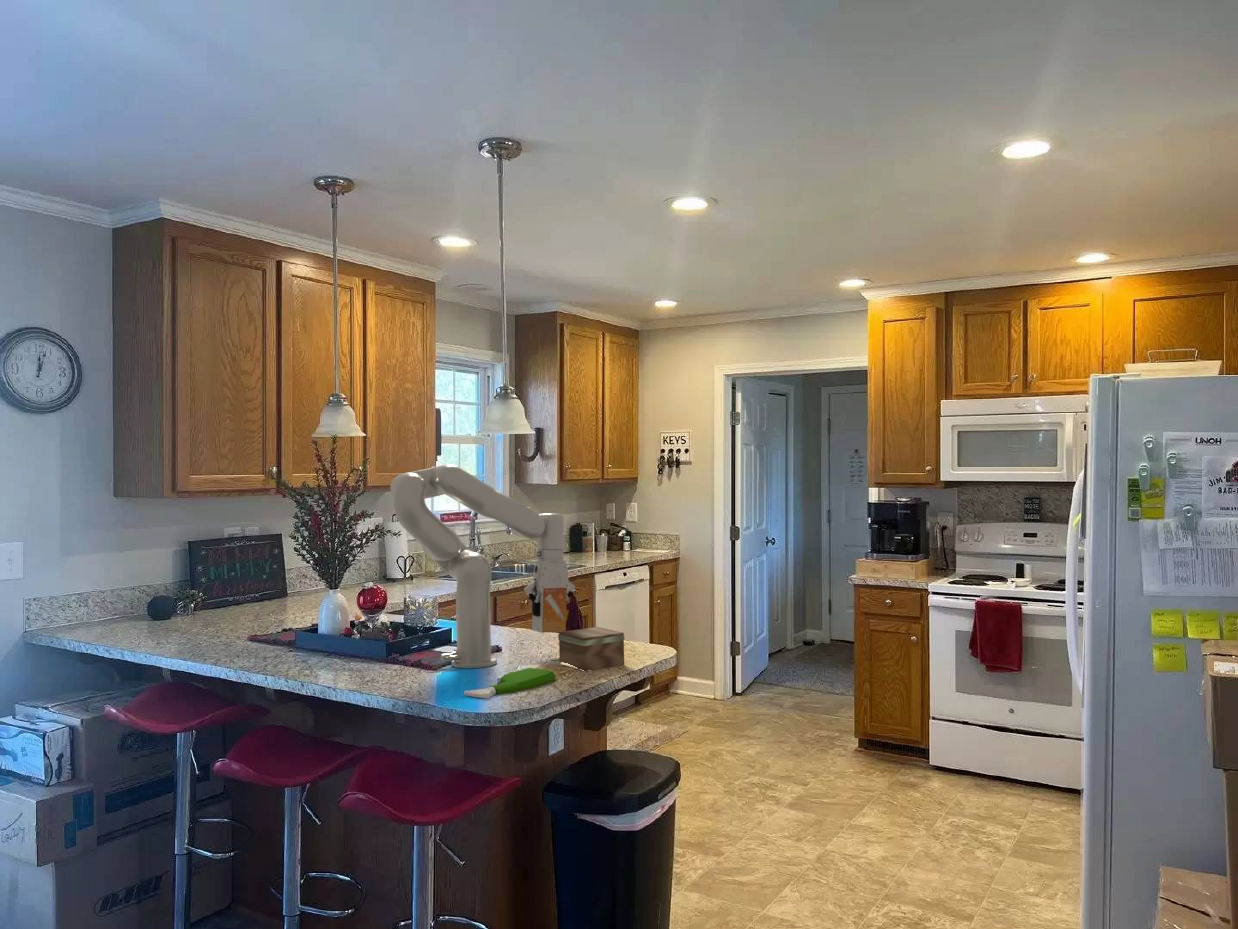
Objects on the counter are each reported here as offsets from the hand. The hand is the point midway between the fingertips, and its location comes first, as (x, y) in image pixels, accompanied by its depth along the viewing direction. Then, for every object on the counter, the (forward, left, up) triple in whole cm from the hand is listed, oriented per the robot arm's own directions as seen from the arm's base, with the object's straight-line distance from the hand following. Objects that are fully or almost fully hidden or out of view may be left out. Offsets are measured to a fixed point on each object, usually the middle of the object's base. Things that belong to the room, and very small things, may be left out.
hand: (549, 614), depth 265 cm
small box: (0, 0, -5) cm, 5 cm away
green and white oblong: (-28, -28, -13) cm, 42 cm away
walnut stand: (+3, -18, -12) cm, 22 cm away
